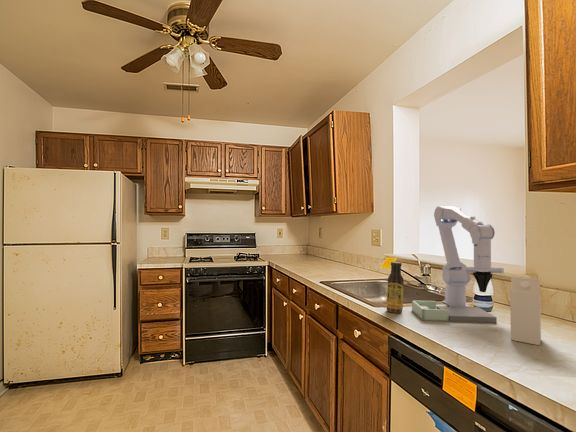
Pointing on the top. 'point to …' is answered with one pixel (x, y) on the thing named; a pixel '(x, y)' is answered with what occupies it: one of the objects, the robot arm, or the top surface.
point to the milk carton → (525, 310)
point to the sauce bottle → (395, 289)
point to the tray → (429, 311)
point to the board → (468, 314)
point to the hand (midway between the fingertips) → (482, 291)
